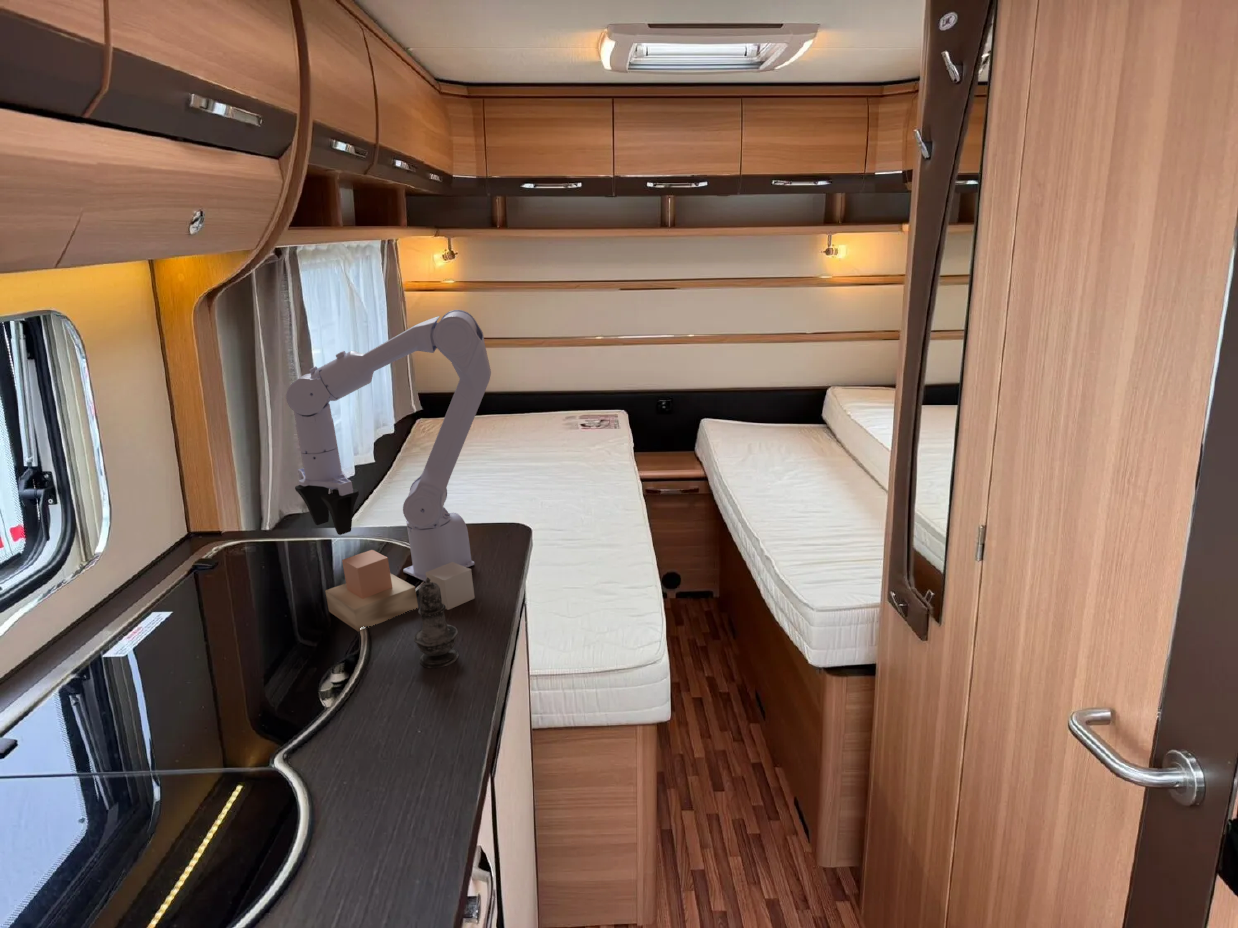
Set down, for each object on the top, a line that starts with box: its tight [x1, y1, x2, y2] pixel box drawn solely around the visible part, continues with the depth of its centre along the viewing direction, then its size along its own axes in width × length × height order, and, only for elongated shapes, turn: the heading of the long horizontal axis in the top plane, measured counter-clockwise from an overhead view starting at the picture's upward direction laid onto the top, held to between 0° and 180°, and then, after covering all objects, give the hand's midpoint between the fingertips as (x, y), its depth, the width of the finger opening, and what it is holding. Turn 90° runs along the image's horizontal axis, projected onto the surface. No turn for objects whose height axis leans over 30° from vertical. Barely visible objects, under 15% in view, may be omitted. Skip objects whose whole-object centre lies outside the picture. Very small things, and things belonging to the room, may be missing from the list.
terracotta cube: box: [341, 549, 392, 599], centre depth 132 cm, size 5×5×5 cm
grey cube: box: [426, 562, 475, 610], centre depth 135 cm, size 5×5×5 cm
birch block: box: [325, 572, 419, 632], centre depth 133 cm, size 10×10×4 cm
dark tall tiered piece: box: [413, 577, 460, 669], centre depth 116 cm, size 6×6×12 cm
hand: (333, 527), depth 143 cm, fingers open, 7 cm apart
